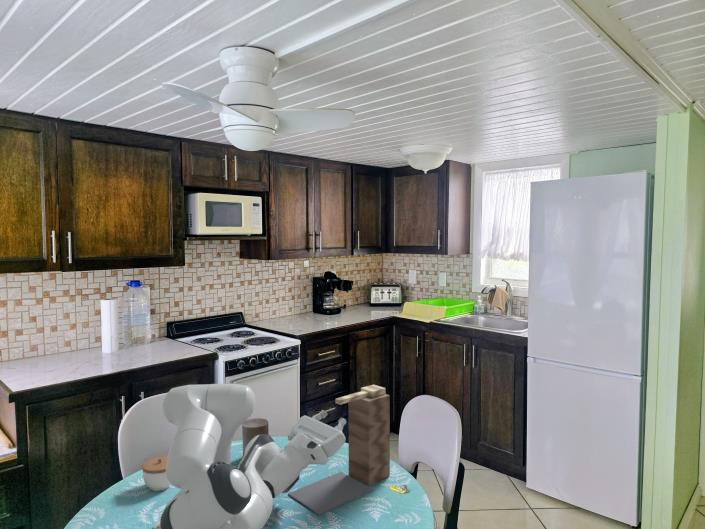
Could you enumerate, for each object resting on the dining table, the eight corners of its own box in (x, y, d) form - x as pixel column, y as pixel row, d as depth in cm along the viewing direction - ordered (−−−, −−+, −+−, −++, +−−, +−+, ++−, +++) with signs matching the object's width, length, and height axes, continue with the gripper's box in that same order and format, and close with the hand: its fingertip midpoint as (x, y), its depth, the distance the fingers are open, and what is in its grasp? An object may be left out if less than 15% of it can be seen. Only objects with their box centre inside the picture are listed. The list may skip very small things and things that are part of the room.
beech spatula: (343, 406, 152) (343, 399, 152) (331, 401, 157) (331, 395, 157) (385, 393, 165) (385, 388, 165) (373, 390, 169) (373, 384, 169)
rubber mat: (319, 515, 140) (319, 513, 140) (288, 494, 152) (288, 493, 152) (372, 490, 155) (372, 488, 155) (340, 473, 167) (340, 471, 167)
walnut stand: (368, 485, 158) (368, 401, 157) (348, 475, 165) (348, 394, 164) (389, 476, 164) (389, 395, 163) (369, 466, 172) (369, 388, 171)
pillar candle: (274, 457, 180) (273, 417, 179) (256, 466, 171) (255, 425, 171) (255, 451, 185) (254, 413, 185) (236, 461, 177) (236, 420, 176)
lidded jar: (177, 476, 165) (177, 449, 164) (177, 491, 155) (177, 462, 154) (143, 481, 161) (143, 454, 161) (141, 497, 151) (140, 467, 151)
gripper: (289, 445, 153) (318, 414, 161) (329, 466, 138) (359, 431, 145) (280, 430, 151) (311, 400, 158) (320, 450, 135) (351, 416, 143)
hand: (334, 415), depth 152 cm, fingers open, 8 cm apart
